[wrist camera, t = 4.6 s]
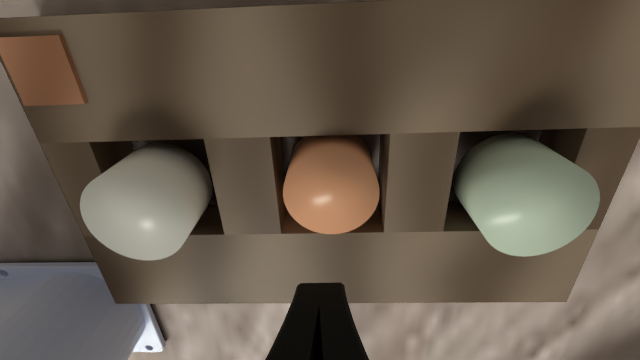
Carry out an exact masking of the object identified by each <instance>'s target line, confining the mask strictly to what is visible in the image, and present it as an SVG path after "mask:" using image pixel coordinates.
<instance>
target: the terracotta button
mask: <svg viewBox="0 0 640 360" xmlns="http://www.w3.org/2000/svg"><path fill="white" fill-rule="evenodd" d="M379 195H380V194H379V184H378V180H377V177H376V173H375V170H374V166H373V162H372V159H371V155H370V152H369V149H368V147H367V146H366V144H365V143H364V141H363V140H362V139H361V138H360V137H359V136H358V135H326V136H303V137H302V138H301V139H300V140H299V142H298V143H297V144H296V146H295V148H294V150H293V153H292V156H291V160H290V164H289V167H288V171H287V175H286V178H285V182H284V186H283V198H284V203H285V206H286V208H287V210H288V212H289V213H290V215H291V216H292V217H293V218H294V220H295V221H297V222H298V223H299V224H300V225H302V226H303V227H305V228H307V229H309V230H311V231H314V232H318V233H322V234H340V233H345V232H349V231H351V230H354V229H356V228H358V227H359V226H361V225H362V224H364V223H365V222H366V221H367V220H368V219H369V218H370V217H371V216H372V214H373V213H374V211H375V209H376V207H377V204H378V201H379Z"/></svg>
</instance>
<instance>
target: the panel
mask: <svg viewBox="0 0 640 360" xmlns="http://www.w3.org/2000/svg"><path fill="white" fill-rule="evenodd" d="M0 61H1V63H2V65H3V67H4V69H5V71H6V73H7V75H8V77H9V80H10V82H11V84H12V86H13V88H14V90H15V92H16V94H17V96H18V99H19V101H20V103H21V105H22V107H23V109H24V111H25V113H26V115H27V118H28V120H29V122H30V124H31V126H32V128H33V130H34V132H35V134H36V137H37V139H38V141H39V143H40V145H41V147H42V149H43V151H44V153H45V156H46V158H47V160H48V162H49V164H50V166H51V168H52V170H53V172H54V175H55V177H56V179H57V181H58V183H59V185H60V187H61V189H62V191H63V194H64V196H65V198H66V200H67V202H68V204H69V206H70V208H71V210H72V213H73V215H74V217H75V219H76V221H77V223H78V225H79V227H80V229H81V232H82V234H83V236H84V238H85V240H86V242H87V244H88V246H89V249H90V251H91V253H92V255H93V257H94V259H95V261H96V263H97V265H98V268H99V270H100V272H101V274H102V276H103V278H104V280H105V282H106V284H107V287H108V289H109V291H110V293H111V295H112V297H113V299H114V301H115V303H116V304H209V303H292V300H293V297H294V294H295V291H296V288H297V286H298V285H299V284H300V283H336V282H341V283H342V284H343V285H344V286H345V293H346V297H347V301H348V303H435V302H567V299H568V297H569V295H570V293H571V290H572V288H573V286H574V284H575V281H576V279H577V277H578V275H579V272H580V270H581V268H582V266H583V263H584V261H585V259H586V257H587V255H588V252H589V250H590V248H591V246H592V243H593V241H594V239H595V237H596V234H597V232H598V230H599V228H600V225H601V223H602V221H603V219H604V216H605V214H606V212H607V210H608V208H609V205H610V203H611V201H612V199H613V196H614V194H615V192H616V190H617V187H618V185H619V183H620V181H621V178H622V176H623V174H624V172H625V169H626V167H627V165H628V163H629V161H630V158H631V156H632V154H633V152H634V149H635V147H636V145H637V143H638V140H639V138H640V0H386V1H364V2H342V3H320V4H298V5H277V6H255V7H233V8H211V9H189V10H167V11H146V12H124V13H102V14H80V15H58V16H36V17H14V18H0ZM508 130H542V133H541V136H540V140H539V142H540V143H542V144H543V145H545V146H546V147H548V148H550V149H551V150H553V151H555V152H556V153H558V154H560V155H561V156H563V157H564V158H566V159H568V160H569V161H571V162H573V163H574V164H576V165H577V166H579V167H581V168H582V169H584V170H585V171H587V172H588V173H589V174H590V175H591V176H592V177H593V178H594V179H595V181H596V182H597V185H598V187H599V192H600V202H599V207H598V210H597V213H596V215H595V217H594V219H593V220H592V222H591V223H590V225H589V226H588V227H587V228H586V229H585V230H584V231H583V232H582V233H581V234H580V235H579V236H578V237H577V238H575V239H574V240H573V241H571V242H570V243H568V244H567V245H565V246H563V247H561V248H559V249H557V250H554V251H552V252H549V253H545V254H541V255H536V256H526V257H523V256H512V255H508V254H505V253H502V252H500V251H498V250H497V249H495V248H494V247H492V246H491V245H490V244H489V243H488V241H487V240H486V239H485V237H484V236H483V234H482V233H481V231H480V230H479V228H478V227H477V226H476V224H475V223H474V221H473V220H472V218H471V217H470V215H469V214H468V212H467V211H466V210H465V208H464V207H463V205H462V204H461V202H456V203H448V200H449V194H450V188H451V183H452V177H453V171H454V165H455V159H456V153H457V148H458V142H459V136H460V132H472V131H508ZM363 134H381V135H380V154H379V174H378V184H379V194H380V195H379V201H378V204H377V207H376V209H375V211H374V213H373V214H372V216H371V217H370V218H369V219H368V220H367V221H366V222H365V223H364V224H362V225H361V226H359V227H358V228H356V229H354V230H351V231H349V232H345V233H340V234H322V233H318V232H314V231H311V230H309V229H307V228H305V227H303V226H302V225H300V224H299V223H298V222H297V221H295V220H294V218H293V217H292V216H291V215H290V213H289V212H288V210H287V208H286V206H285V203H284V198H283V186H284V182H285V176H284V166H283V157H282V147H281V137H290V136H326V135H363ZM181 139H204V144H205V148H206V153H207V157H208V162H209V166H210V171H211V175H212V180H213V184H214V189H215V194H216V198H217V203H218V207H207V208H206V209H205V211H204V212H203V214H202V216H201V217H200V219H199V220H198V222H197V223H196V225H195V227H194V228H193V230H192V231H191V233H190V234H189V236H188V237H187V239H186V241H185V242H184V244H183V245H182V247H181V248H180V249H179V250H178V251H177V252H176V253H174V254H173V255H171V256H169V257H167V258H163V259H159V260H150V261H148V260H137V259H133V258H129V257H126V256H123V255H121V254H118V253H116V252H114V251H112V250H111V249H109V248H108V247H106V246H105V245H103V244H102V243H101V242H100V241H99V240H97V239H96V238H95V237H94V235H93V234H92V233H91V232H90V231H89V229H88V228H87V226H86V224H85V222H84V220H83V218H82V215H81V211H80V198H81V195H82V192H83V190H84V188H85V187H86V186H87V185H88V184H89V183H90V182H91V181H92V180H94V179H95V178H97V177H98V176H99V175H101V174H102V173H104V172H105V171H107V170H108V169H109V168H111V167H112V166H114V165H115V164H117V163H118V162H119V161H121V160H122V159H124V158H125V157H127V156H128V155H129V154H131V153H132V152H133V150H132V147H131V144H130V141H145V140H181Z"/></svg>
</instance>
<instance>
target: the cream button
mask: <svg viewBox="0 0 640 360" xmlns="http://www.w3.org/2000/svg"><path fill="white" fill-rule="evenodd" d="M212 193H213V186H212V181H211V178H210V175H209V173H208V171H207V169H206V168H205V166H204V165H203V164H202V162H201V161H200V160H199V159H198V158H196V157H195V156H194V155H193V154H191V153H190V152H188V151H187V150H185V149H183V148H181V147H178V146H176V145H172V144H168V143H151V144H146V145H144V146H142V147H140V148H138V149H137V150H135V151H134V152H132V153H131V154H129V155H128V156H127V157H125V158H124V159H122V160H121V161H119V162H118V163H117V164H115V165H114V166H112V167H111V168H109V169H108V170H107V171H105V172H104V173H102V174H101V175H99V176H98V177H97V178H95V179H94V180H92V181H91V182H90V183H89V184H88V185H87V186H86V187H85V188H84V190H83V192H82V195H81V198H80V211H81V215H82V218H83V220H84V222H85V224H86V226H87V228H88V229H89V231H90V232H91V233H92V234H93V235H94V237H95V238H96V239H97V240H99V241H100V242H101V243H102V244H103V245H105V246H106V247H108V248H109V249H111V250H112V251H114V252H116V253H118V254H121V255H123V256H126V257H129V258H133V259H137V260H148V261H150V260H159V259H163V258H167V257H169V256H171V255H173V254H174V253H176V252H177V251H178V250H179V249H180V248H181V247H182V245H183V244H184V242H185V241H186V239H187V237H188V236H189V234H190V233H191V231H192V230H193V228H194V227H195V225H196V223H197V222H198V220H199V219H200V217H201V216H202V214H203V212H204V211H205V209H206V208H207V206H208V205H209V203H210V201H211V198H212Z"/></svg>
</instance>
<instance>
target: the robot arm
mask: <svg viewBox="0 0 640 360" xmlns="http://www.w3.org/2000/svg"><path fill="white" fill-rule="evenodd" d="M165 345H166V343H165V341H164V338H163V336H162V333H161V331H160V328H159V326H158V323H157V321H156V318H155V316H154V313H153V311H152V309H151V306H150V304H116V303H115V301H114V299H113V297H112V295H111V293H110V291H109V289H108V287H107V284H106V282H105V280H104V278H103V276H102V274H101V272H100V270H99V268H98V265H97V263H96V262H59V263H0V360H128V358H129V356H130V355H131V353H132V352H161V351H163V349H164V347H165ZM265 360H369V359H368V356H367V354H366V352H365V349H364V347H363V344H362V342H361V339H360V337H359V334H358V332H357V329H356V327H355V324H354V321H353V318H352V315H351V312H350V309H349V305H348V301H347V297H346V293H345V286H344V285H343V284H342V283H341V282H336V283H300V284H299V285H298V286H297V288H296V291H295V294H294V297H293V300H292V303H291V306H290V308H289V311H288V313H287V315H286V318H285V320H284V322H283V325H282V327H281V329H280V331H279V333H278V335H277V337H276V339H275V342H274V344H273V346H272V348H271V350H270V352H269V354H268V356H267V358H266V359H265Z"/></svg>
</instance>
